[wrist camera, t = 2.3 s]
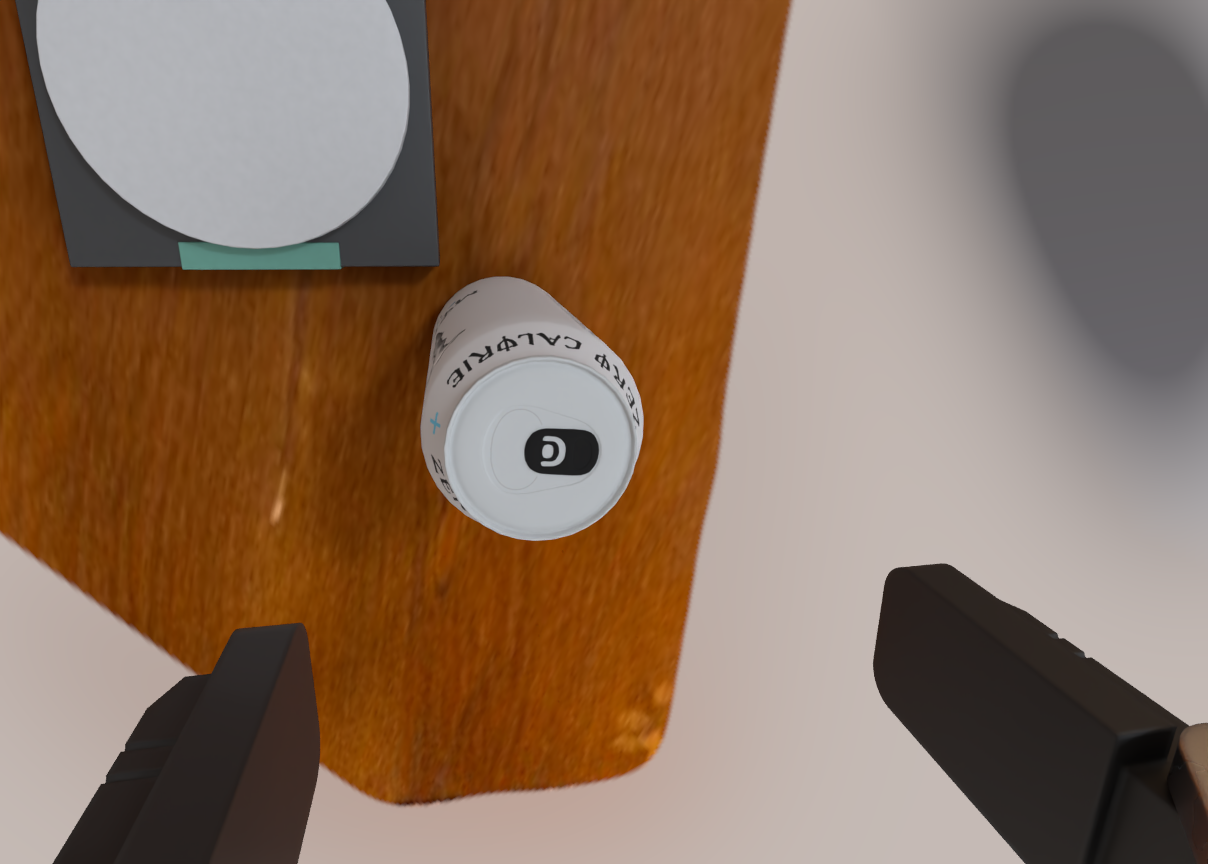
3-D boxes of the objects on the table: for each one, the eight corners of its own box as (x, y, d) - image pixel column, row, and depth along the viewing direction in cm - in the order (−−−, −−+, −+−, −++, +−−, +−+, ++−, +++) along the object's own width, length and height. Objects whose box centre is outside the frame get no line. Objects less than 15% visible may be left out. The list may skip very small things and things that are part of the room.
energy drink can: (435, 267, 30) (423, 320, 16) (575, 281, 31) (676, 341, 17) (429, 404, 32) (412, 561, 18) (562, 412, 33) (644, 563, 19)
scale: (17, -139, 23) (-38, -182, 21) (420, -100, 26) (416, -134, 23) (96, 265, 27) (59, 271, 25) (440, 265, 30) (439, 270, 27)
